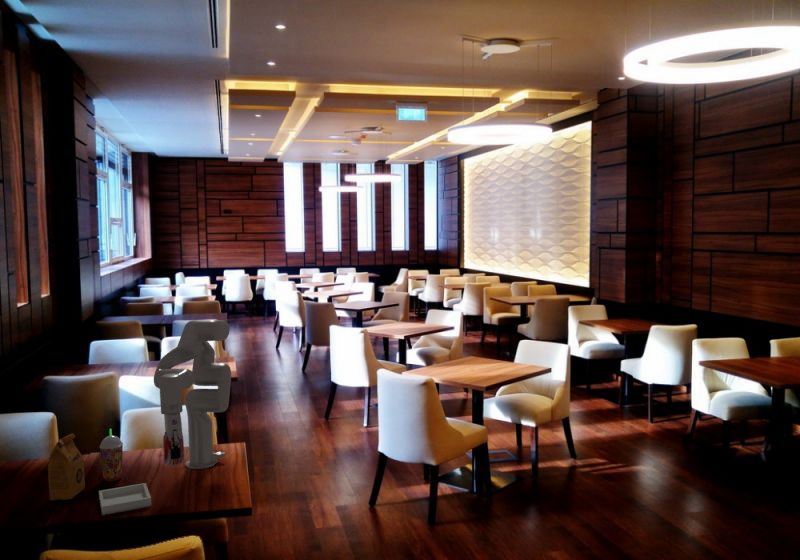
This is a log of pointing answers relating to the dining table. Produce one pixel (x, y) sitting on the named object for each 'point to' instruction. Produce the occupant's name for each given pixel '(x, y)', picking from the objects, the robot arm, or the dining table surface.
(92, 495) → the dining table surface
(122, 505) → the tray
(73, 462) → the coffee package
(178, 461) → the soda can
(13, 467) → the dining table surface
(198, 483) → the dining table surface
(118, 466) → the smoothie
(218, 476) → the dining table surface
